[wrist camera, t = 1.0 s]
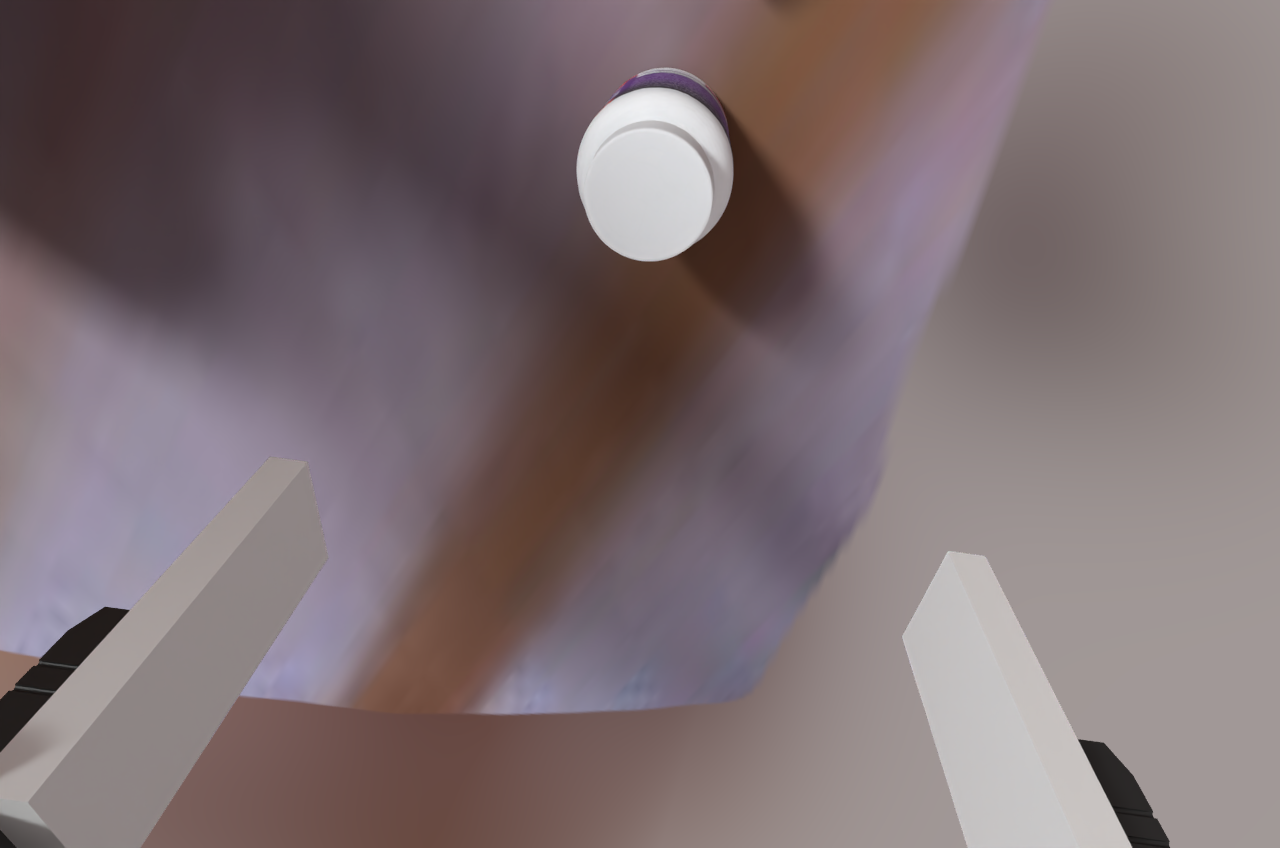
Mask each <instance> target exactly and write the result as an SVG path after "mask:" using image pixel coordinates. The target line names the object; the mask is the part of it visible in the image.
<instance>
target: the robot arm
mask: <svg viewBox="0 0 1280 848" xmlns="http://www.w3.org/2000/svg"><path fill="white" fill-rule="evenodd" d="M327 559H328V553H327V549H326V544H325V540H324V535H323V530H322V526H321V521H320V517H319V512H318V508H317V503H316V498H315V494H314V489H313V485H312V480H311V475H310V471H309V466H308V462H305V461H298V460H290V459H283V458H276V457H269V458H268V459H267V461H266V462H265V463H264V464H263V465H262V466H261V467H260V468H259V469H258V470H257V472H256V473H255V474H254V475H253V476H252V477H251V478H250V479H249V480H248V481H247V482H246V484H245V485H244V486H243V487H242V488H241V489H240V490H239V491H238V492H237V493H236V495H235V496H234V497H233V498H232V499H231V500H230V501H229V502H228V503H227V504H226V506H225V507H224V508H223V509H222V510H221V511H220V512H219V513H218V514H217V515H216V516H215V518H214V519H213V520H212V521H211V522H210V523H209V524H208V525H207V526H206V527H205V529H204V530H203V531H202V532H201V533H200V534H199V535H198V536H197V537H196V538H195V540H194V541H193V542H192V543H191V544H190V545H189V546H188V547H187V548H186V549H185V550H184V552H183V553H182V554H181V555H180V556H179V557H178V558H177V559H176V560H175V561H174V563H173V564H172V565H171V566H170V567H169V568H168V569H167V570H166V571H165V572H164V574H163V575H162V576H161V577H160V578H159V579H158V580H157V581H156V582H155V583H154V584H153V586H152V587H151V588H150V589H149V590H148V591H147V592H146V593H145V594H144V595H143V597H142V598H141V599H140V600H139V601H138V602H137V603H136V604H135V605H134V606H133V608H132V609H131V610H125V609H118V608H111V607H104V608H102V609H101V610H99V611H98V612H96V613H95V614H93V615H92V616H90V617H88V618H87V619H85V620H84V621H82V622H81V623H79V624H77V625H76V626H74V627H73V628H71V629H70V630H68V631H67V632H66V633H65V634H64V635H63V636H62V637H61V638H60V639H59V640H58V641H57V642H56V643H55V644H54V645H53V646H52V647H51V648H50V649H49V650H48V651H47V652H46V653H45V654H44V655H43V657H42V658H41V659H40V660H39V664H38V665H37V666H33V667H32V668H31V669H30V670H29V671H28V672H27V673H26V674H25V675H24V676H23V677H22V678H21V679H20V680H19V681H18V682H17V683H16V684H15V688H14V690H12V691H8V692H7V693H6V694H5V695H4V696H3V697H2V699H0V848H141V846H142V844H143V843H144V841H145V840H146V838H147V836H148V835H149V834H150V832H151V831H152V829H153V827H154V826H155V824H156V823H157V821H158V820H159V818H160V817H161V815H162V814H163V812H164V811H165V809H166V807H167V806H168V804H169V803H170V801H171V800H172V798H173V797H174V795H175V794H176V792H177V790H178V789H179V787H180V786H181V784H182V783H183V781H184V780H185V778H186V777H187V775H188V773H189V772H190V770H191V769H192V767H193V766H194V764H195V763H196V761H197V760H198V758H199V756H200V755H201V753H202V752H203V750H204V749H205V747H206V745H207V744H208V743H209V741H210V739H211V738H212V736H213V735H214V733H215V732H216V730H217V729H218V727H219V725H220V724H221V722H222V721H223V719H224V718H225V716H226V715H227V713H228V711H229V710H230V709H231V707H232V706H233V704H234V702H235V701H236V699H237V698H238V696H239V695H240V693H241V692H242V690H243V689H244V687H245V686H246V684H247V682H248V681H249V679H250V678H251V676H252V675H253V673H254V672H255V670H256V669H257V667H258V665H259V664H260V662H261V661H262V659H263V658H264V656H265V655H266V653H267V652H268V650H269V649H270V647H271V645H272V644H273V642H274V641H275V639H276V638H277V636H278V635H279V633H280V632H281V630H282V628H283V627H284V625H285V624H286V622H287V621H288V619H289V618H290V616H291V615H292V613H293V611H294V610H295V608H296V607H297V605H298V604H299V602H300V601H301V599H302V598H303V596H304V595H305V593H306V591H307V590H308V588H309V587H310V585H311V584H312V582H313V581H314V579H315V578H316V576H317V574H318V573H319V571H320V570H321V568H322V567H323V565H324V564H325V562H326V561H327ZM902 640H903V643H904V646H905V649H906V653H907V656H908V659H909V662H910V665H911V668H912V672H913V675H914V678H915V681H916V684H917V688H918V691H919V694H920V697H921V701H922V704H923V707H924V710H925V713H926V716H927V719H928V722H929V726H930V729H931V732H932V736H933V739H934V742H935V745H936V748H937V751H938V755H939V758H940V761H941V764H942V768H943V771H944V774H945V777H946V780H947V784H948V787H949V790H950V793H951V796H952V800H953V803H954V806H955V809H956V812H957V815H958V819H959V822H960V825H961V828H962V832H963V835H964V838H965V841H966V844H967V848H1170V847H1169V840H1168V838H1167V836H1166V834H1165V833H1164V831H1163V829H1162V827H1161V825H1160V823H1159V821H1158V820H1157V819H1155V818H1154V817H1153V815H1152V813H1153V811H1152V809H1151V807H1150V805H1149V803H1148V802H1147V800H1146V798H1145V796H1144V794H1143V792H1142V791H1141V789H1140V787H1139V785H1138V783H1137V782H1136V780H1135V778H1134V776H1133V775H1132V774H1131V773H1130V772H1129V770H1128V769H1127V768H1126V767H1125V766H1124V765H1123V764H1122V763H1121V761H1120V760H1119V759H1118V758H1117V757H1116V756H1115V755H1114V754H1113V753H1112V751H1111V750H1110V749H1109V748H1108V747H1107V746H1106V745H1105V744H1104V743H1100V742H1093V741H1086V740H1078V739H1077V737H1076V735H1075V733H1074V731H1073V729H1072V727H1071V725H1070V723H1069V721H1068V719H1067V717H1066V715H1065V713H1064V711H1063V709H1062V707H1061V705H1060V703H1059V701H1058V700H1057V697H1056V695H1055V693H1054V691H1053V689H1052V687H1051V685H1050V683H1049V682H1048V679H1047V678H1046V676H1045V673H1044V671H1043V670H1042V667H1041V666H1040V664H1039V662H1038V660H1037V658H1036V656H1035V654H1034V652H1033V650H1032V648H1031V646H1030V644H1029V642H1028V640H1027V638H1026V636H1025V634H1024V632H1023V630H1022V628H1021V626H1020V624H1019V622H1018V620H1017V618H1016V616H1015V614H1014V612H1013V610H1012V608H1011V606H1010V604H1009V602H1008V600H1007V598H1006V596H1005V594H1004V592H1003V590H1002V589H1001V586H1000V584H999V582H998V580H997V578H996V576H995V574H994V572H993V570H992V569H991V566H990V564H989V563H988V561H987V558H986V557H985V556H981V555H974V554H967V553H959V552H953V551H948V552H947V554H946V556H945V558H944V560H943V561H942V563H941V565H940V567H939V569H938V571H937V572H936V574H935V576H934V578H933V580H932V582H931V583H930V585H929V587H928V589H927V591H926V593H925V595H924V596H923V598H922V600H921V602H920V604H919V606H918V608H917V610H916V611H915V613H914V615H913V617H912V619H911V620H910V623H909V624H908V626H907V628H906V630H905V632H904V634H903V635H902Z"/></svg>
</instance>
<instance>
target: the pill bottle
mask: <svg viewBox="0 0 1280 848" xmlns="http://www.w3.org/2000/svg"><path fill="white" fill-rule="evenodd" d="M576 171H577V182H578V188H579V194H580V197H581V200H582V203H583V205H584V208H585V210H586V214H587V217H588V219H589V222H590V224H591V226H592V228H593V229H594V231H595V232H596V234H597V235H598V236H599V238H600V239H601V240H602V241H603V242H604V243H605V244H606V245H607V246H608V247H610V248H611V249H612V250H614V251H615V252H617V253H619V254H621V255H623V256H625V257H628V258H630V259H634V260H638V261H660V260H666V259H668V258H671V257H674V256H676V255H678V254H680V253H682V252H683V251H685V250H686V249H688V248H689V247H690V246H691V245H692V244H694V243H696V242H697V241H699V240H700V239H702V238H703V237H704V236H705V235H706V234H707V233H708V232H709V231H710V230H711V229H712V228H713V227H714V226H715V225H716V223H717V222H718V221H719V219H720V218H721V216H722V214H723V212H724V211H725V208H726V206H727V204H728V201H729V198H730V194H731V190H732V185H733V155H732V149H731V143H730V138H729V130H728V124H727V120H726V116H725V113H724V111H723V108H722V106H721V104H720V102H719V100H718V99H717V97H716V95H715V94H714V93H713V91H712V90H711V89H710V88H709V87H708V86H707V85H706V84H705V83H704V82H703V81H702V80H700V79H699V78H697V77H696V76H694V75H692V74H690V73H688V72H686V71H683V70H679V69H674V68H655V69H651V70H647V71H644V72H642V73H639V74H637V75H635V76H634V77H632V78H631V79H629V80H628V81H626V82H625V83H624V84H623V85H622V86H621V87H619V88H618V90H617V91H616V92H615V93H614V94H613V95H612V97H611V98H610V99H609V101H608V102H607V103H606V104H605V106H604V107H603V108H602V109H601V111H600V112H599V113H598V114H597V115H596V116H595V118H594V119H593V120H592V122H591V124H590V125H589V127H588V128H587V130H586V132H585V134H584V137H583V139H582V141H581V144H580V148H579V152H578V157H577V169H576Z"/></svg>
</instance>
